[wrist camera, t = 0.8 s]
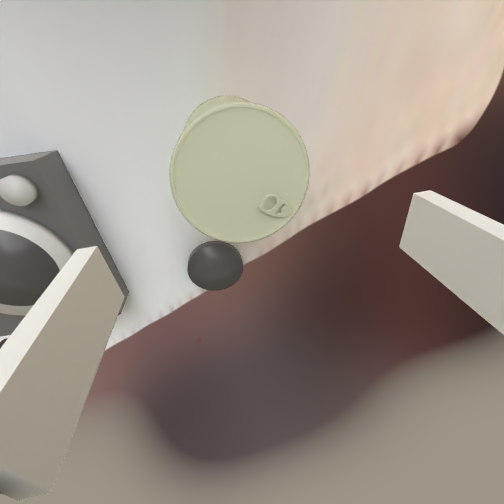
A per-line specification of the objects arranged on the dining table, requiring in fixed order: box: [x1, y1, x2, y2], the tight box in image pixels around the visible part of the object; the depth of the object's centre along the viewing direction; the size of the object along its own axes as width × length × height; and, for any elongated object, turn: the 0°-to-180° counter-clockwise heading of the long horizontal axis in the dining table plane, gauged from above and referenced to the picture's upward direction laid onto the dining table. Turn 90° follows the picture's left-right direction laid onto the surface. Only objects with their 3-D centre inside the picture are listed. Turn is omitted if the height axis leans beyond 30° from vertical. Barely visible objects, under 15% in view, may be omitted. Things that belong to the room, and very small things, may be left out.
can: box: [170, 96, 309, 243], centre depth 21 cm, size 9×9×12 cm
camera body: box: [0, 151, 129, 336], centre depth 26 cm, size 18×14×5 cm
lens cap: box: [188, 241, 243, 290], centre depth 33 cm, size 7×7×2 cm
